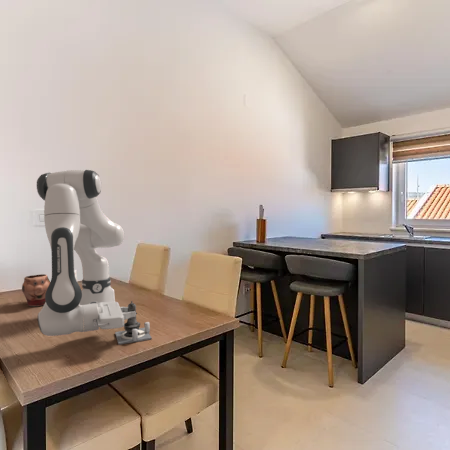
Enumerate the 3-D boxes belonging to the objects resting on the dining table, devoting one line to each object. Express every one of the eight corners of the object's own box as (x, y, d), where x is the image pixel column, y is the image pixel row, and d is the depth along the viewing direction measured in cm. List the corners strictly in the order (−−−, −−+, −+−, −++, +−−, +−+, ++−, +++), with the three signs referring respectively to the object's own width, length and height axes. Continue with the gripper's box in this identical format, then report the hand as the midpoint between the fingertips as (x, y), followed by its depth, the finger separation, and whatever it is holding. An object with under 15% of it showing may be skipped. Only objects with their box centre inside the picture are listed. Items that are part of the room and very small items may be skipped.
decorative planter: (18, 302, 167) (16, 274, 167) (45, 297, 176) (44, 270, 175) (28, 310, 153) (26, 280, 152) (57, 305, 161) (56, 276, 160)
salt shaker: (142, 331, 123) (142, 298, 122) (138, 337, 117) (137, 303, 116) (126, 331, 123) (125, 298, 122) (121, 337, 117) (120, 302, 116)
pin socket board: (115, 333, 123) (114, 322, 123) (146, 328, 128) (146, 317, 128) (118, 345, 112) (118, 333, 112) (153, 339, 117) (152, 327, 117)
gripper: (93, 316, 105) (139, 310, 110) (91, 300, 123) (130, 296, 129) (94, 336, 105) (139, 329, 110) (92, 317, 124) (131, 312, 129)
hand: (134, 311), depth 120 cm, fingers closed on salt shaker, 4 cm apart
